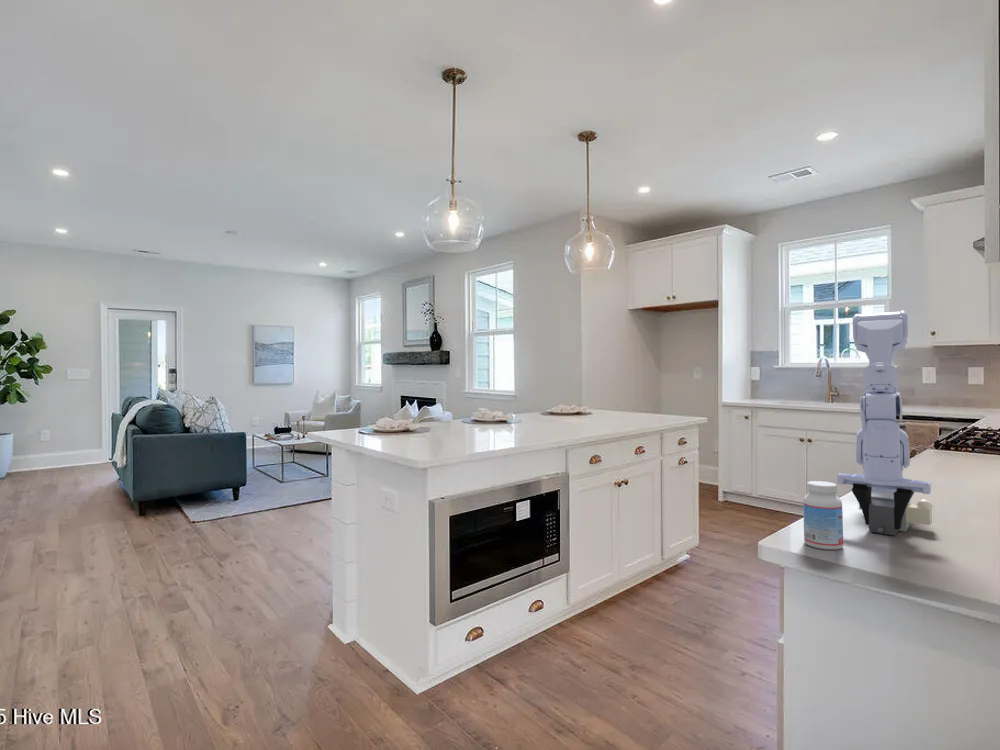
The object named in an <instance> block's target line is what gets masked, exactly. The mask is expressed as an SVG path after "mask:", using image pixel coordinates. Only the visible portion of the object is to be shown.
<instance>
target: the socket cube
mask: <svg viewBox="0 0 1000 750" xmlns="http://www.w3.org/2000/svg"><path fill="white" fill-rule="evenodd" d="M873 500H881V501H889V502H894V493H889V492H881V491H874V492H872V493H871V502H872V501H873ZM909 504H912V503H911V500H910V501H909V503H908V505H909ZM908 505H907V506H908ZM911 526H912V523H910V522H907V507H906V509H905V512H904V515H903V518H902V523H901V528H900V529H899V530H898V531H901V532H902V531H903V532H907V531H908V529H910V527H911Z"/></svg>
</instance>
